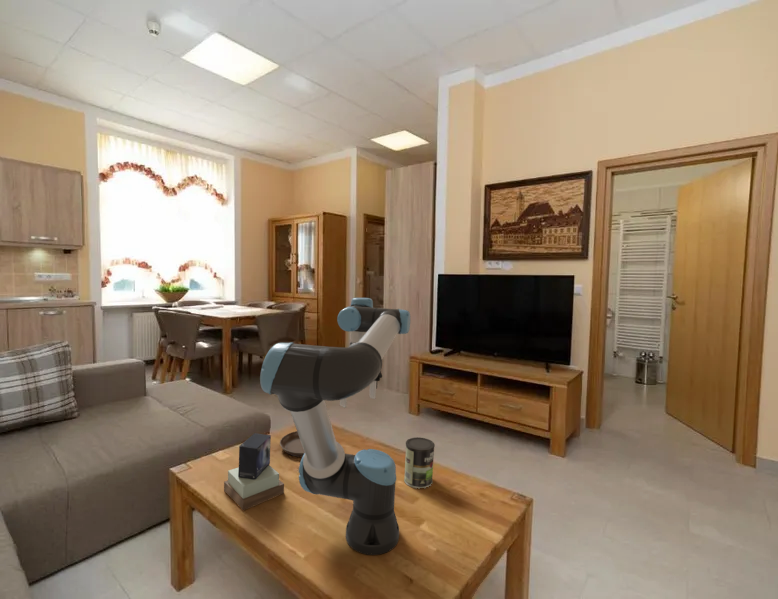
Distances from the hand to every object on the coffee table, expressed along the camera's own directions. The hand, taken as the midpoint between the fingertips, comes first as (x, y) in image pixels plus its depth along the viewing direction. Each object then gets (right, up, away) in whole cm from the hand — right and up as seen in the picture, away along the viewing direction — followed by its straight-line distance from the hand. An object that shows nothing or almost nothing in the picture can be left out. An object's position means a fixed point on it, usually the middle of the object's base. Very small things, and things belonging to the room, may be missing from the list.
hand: (358, 402), depth 136 cm
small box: (-34, -21, -7) cm, 40 cm away
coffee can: (+21, -30, +4) cm, 37 cm away
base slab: (-34, -29, -7) cm, 45 cm away
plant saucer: (-24, -26, +26) cm, 44 cm away
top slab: (-34, -25, -8) cm, 43 cm away
